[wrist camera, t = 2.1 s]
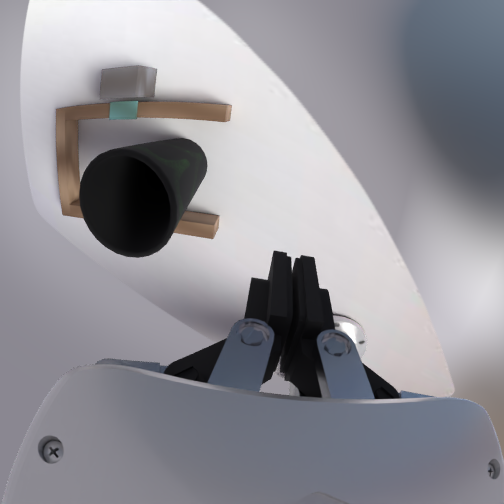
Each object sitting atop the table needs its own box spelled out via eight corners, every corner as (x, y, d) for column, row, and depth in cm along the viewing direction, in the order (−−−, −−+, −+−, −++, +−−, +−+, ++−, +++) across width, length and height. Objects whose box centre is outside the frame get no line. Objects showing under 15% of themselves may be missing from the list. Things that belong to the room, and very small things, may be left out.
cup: (143, 190, 29) (79, 241, 18) (153, 122, 25) (80, 141, 15) (208, 207, 29) (169, 271, 19) (225, 137, 25) (186, 163, 15)
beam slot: (218, 229, 30) (209, 247, 27) (74, 208, 31) (55, 221, 27) (236, 71, 22) (229, 65, 19) (71, 78, 22) (49, 79, 19)
